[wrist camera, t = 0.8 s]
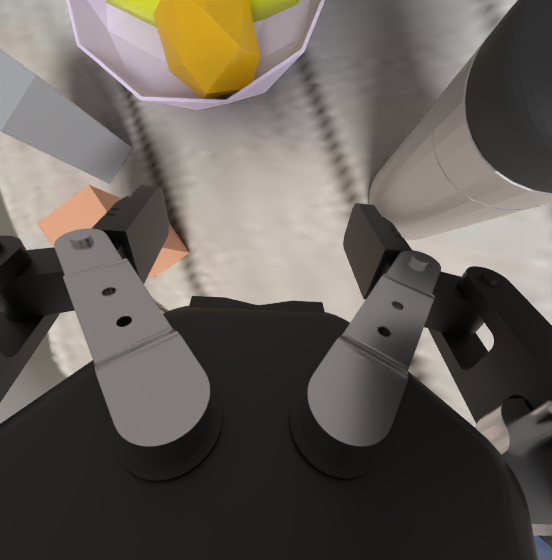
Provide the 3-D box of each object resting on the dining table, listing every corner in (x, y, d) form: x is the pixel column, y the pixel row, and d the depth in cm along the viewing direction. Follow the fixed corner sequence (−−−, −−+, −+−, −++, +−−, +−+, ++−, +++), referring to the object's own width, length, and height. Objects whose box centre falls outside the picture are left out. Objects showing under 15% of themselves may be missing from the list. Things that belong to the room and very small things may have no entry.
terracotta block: (165, 217, 32) (88, 184, 20) (189, 252, 32) (126, 240, 20) (132, 241, 32) (37, 223, 20) (155, 276, 32) (73, 278, 20)
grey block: (99, 124, 32) (-16, 37, 20) (132, 148, 32) (36, 74, 20) (76, 159, 33) (-50, 94, 21) (109, 183, 32) (0, 131, 20)
